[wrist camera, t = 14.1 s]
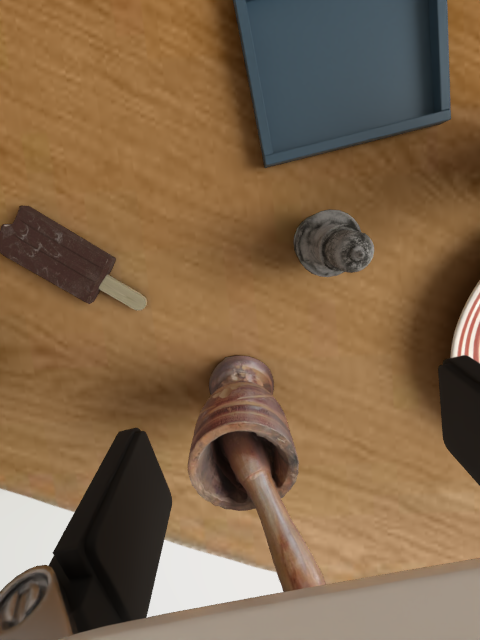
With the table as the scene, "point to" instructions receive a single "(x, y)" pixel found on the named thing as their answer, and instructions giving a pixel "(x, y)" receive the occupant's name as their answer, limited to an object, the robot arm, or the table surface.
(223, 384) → the mortar and pestle
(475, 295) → the dinner plate
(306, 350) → the table surface
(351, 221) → the stone chess piece
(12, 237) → the ice cream bar
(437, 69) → the blue tray
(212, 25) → the table surface
